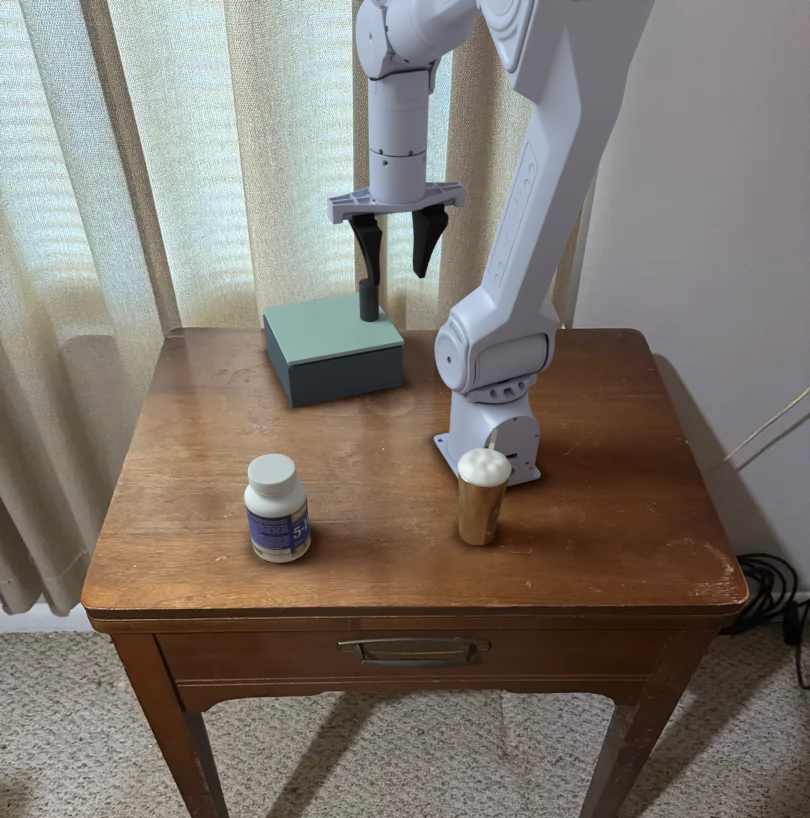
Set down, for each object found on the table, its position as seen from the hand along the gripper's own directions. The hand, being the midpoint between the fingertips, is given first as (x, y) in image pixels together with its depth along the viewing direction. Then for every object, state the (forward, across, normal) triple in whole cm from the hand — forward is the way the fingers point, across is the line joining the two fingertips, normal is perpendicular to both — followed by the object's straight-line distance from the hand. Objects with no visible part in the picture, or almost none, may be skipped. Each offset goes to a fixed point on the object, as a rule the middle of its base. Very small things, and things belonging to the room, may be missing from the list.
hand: (396, 277), depth 84 cm
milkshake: (+10, +3, +31) cm, 32 cm away
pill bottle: (+10, +20, +26) cm, 35 cm away
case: (+10, +8, 0) cm, 13 cm away
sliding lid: (+5, +8, 0) cm, 9 cm away
